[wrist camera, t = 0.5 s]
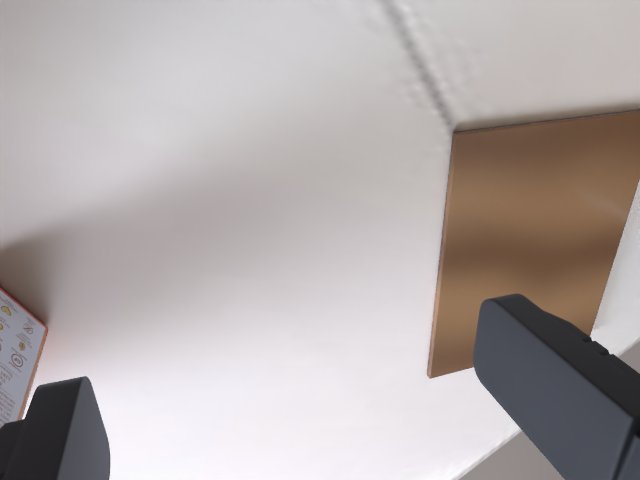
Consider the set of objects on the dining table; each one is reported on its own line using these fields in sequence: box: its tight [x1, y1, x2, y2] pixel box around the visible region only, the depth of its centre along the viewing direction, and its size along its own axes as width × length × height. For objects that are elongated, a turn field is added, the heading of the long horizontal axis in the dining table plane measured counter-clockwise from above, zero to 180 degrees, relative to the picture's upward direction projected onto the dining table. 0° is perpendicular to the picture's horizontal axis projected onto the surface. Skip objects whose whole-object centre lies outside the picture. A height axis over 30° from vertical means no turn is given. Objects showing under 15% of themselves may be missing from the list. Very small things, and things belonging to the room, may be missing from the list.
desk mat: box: [427, 110, 640, 379], centre depth 35 cm, size 20×16×1 cm
